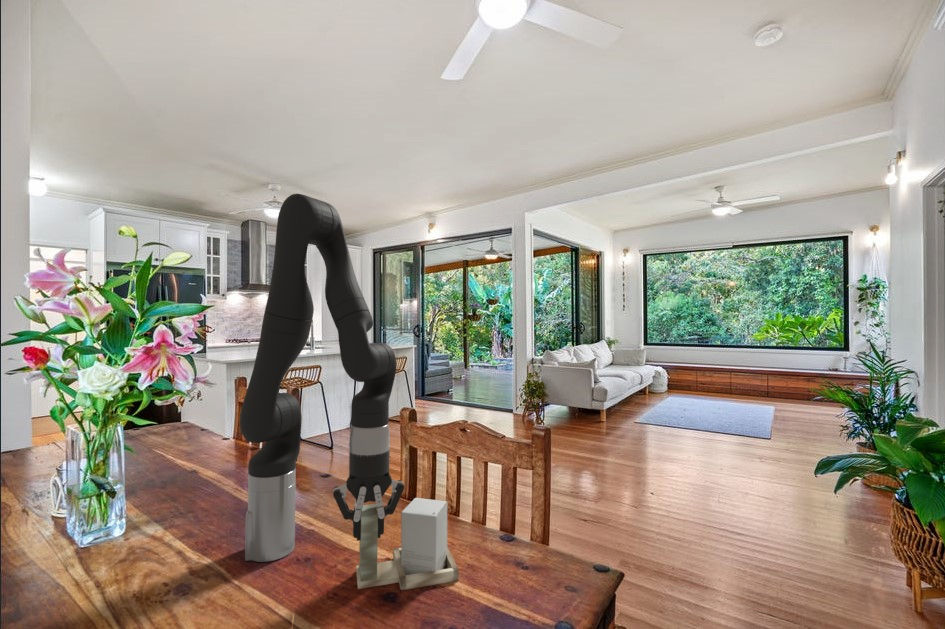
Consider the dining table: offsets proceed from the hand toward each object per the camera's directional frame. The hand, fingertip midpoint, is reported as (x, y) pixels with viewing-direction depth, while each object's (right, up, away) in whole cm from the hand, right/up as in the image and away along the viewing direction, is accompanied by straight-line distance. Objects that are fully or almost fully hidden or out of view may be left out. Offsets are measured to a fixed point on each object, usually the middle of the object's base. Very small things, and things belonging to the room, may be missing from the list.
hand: (368, 536), depth 85 cm
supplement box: (+10, -8, +3) cm, 14 cm away
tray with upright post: (+7, -8, +2) cm, 11 cm away
